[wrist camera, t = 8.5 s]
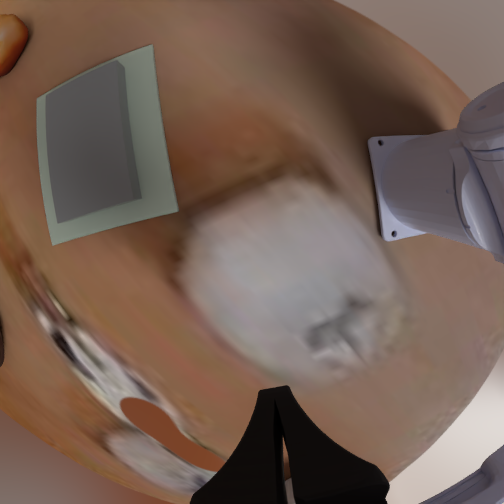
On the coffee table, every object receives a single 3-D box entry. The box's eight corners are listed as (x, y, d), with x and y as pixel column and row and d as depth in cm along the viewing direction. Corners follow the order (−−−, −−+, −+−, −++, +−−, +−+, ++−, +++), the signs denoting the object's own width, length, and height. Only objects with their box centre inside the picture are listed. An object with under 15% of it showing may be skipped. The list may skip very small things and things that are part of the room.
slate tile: (116, 59, 15) (45, 95, 15) (133, 199, 17) (57, 223, 17) (125, 68, 17) (56, 100, 17) (142, 198, 19) (69, 221, 19)
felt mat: (153, 46, 17) (152, 44, 16) (179, 211, 19) (177, 211, 19) (39, 99, 17) (36, 98, 16) (55, 244, 20) (52, 245, 19)
